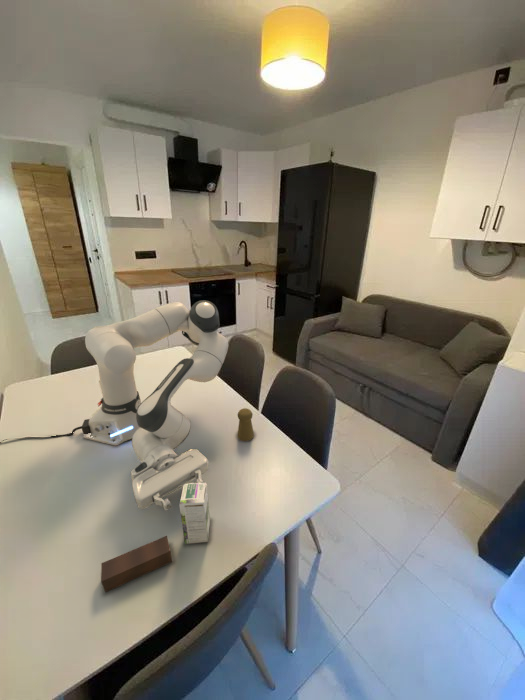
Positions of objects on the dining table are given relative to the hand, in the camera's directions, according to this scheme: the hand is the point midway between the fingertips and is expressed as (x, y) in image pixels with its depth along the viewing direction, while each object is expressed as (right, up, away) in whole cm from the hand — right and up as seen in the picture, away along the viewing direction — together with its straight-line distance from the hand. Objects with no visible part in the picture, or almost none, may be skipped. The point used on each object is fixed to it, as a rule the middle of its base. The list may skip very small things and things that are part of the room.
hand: (185, 495), depth 74 cm
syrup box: (+3, -10, 0) cm, 10 cm away
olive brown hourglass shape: (+13, +6, +33) cm, 36 cm away
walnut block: (-9, -13, -7) cm, 17 cm away
